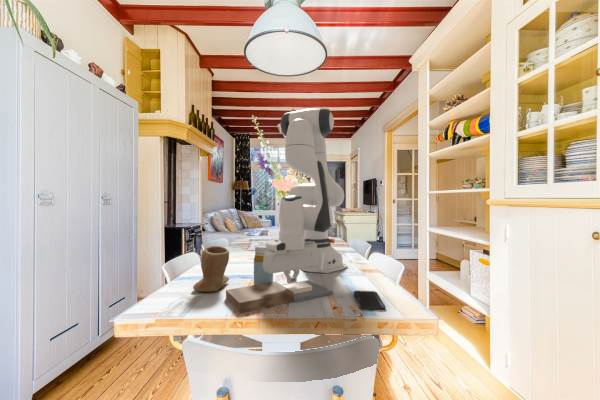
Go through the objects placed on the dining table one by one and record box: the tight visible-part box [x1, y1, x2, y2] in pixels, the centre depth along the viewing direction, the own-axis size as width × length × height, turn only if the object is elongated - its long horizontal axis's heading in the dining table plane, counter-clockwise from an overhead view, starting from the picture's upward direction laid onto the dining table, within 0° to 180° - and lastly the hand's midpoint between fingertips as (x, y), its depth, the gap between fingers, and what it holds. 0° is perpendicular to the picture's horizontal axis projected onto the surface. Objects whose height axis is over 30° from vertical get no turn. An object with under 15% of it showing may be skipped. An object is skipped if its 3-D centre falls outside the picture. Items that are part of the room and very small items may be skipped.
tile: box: [281, 281, 312, 294], centre depth 102 cm, size 9×6×2 cm, turn 121°
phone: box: [353, 290, 386, 311], centre depth 95 cm, size 8×1×15 cm
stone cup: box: [192, 245, 230, 293], centre depth 108 cm, size 15×12×15 cm
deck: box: [225, 281, 294, 314], centre depth 95 cm, size 18×13×3 cm
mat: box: [283, 279, 334, 303], centre depth 104 cm, size 15×15×1 cm
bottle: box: [253, 244, 274, 285], centre depth 109 cm, size 7×7×15 cm
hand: (291, 282), depth 101 cm, fingers closed
